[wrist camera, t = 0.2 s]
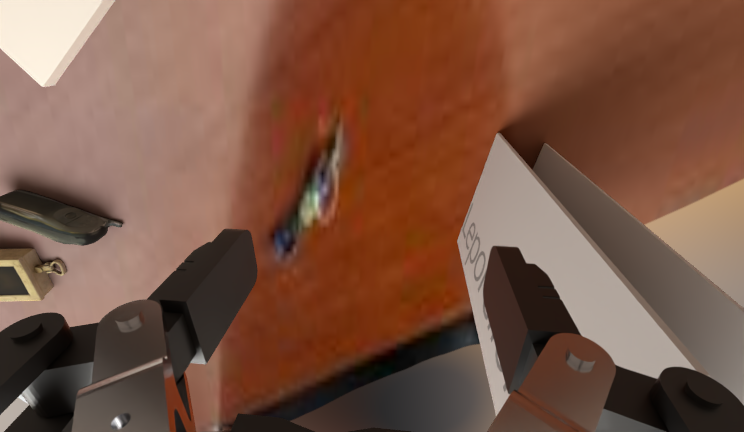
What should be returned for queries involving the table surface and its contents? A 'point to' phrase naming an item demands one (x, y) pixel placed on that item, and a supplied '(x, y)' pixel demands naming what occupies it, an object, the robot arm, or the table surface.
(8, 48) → the cream panel
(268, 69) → the table surface
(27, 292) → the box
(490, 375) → the brochure
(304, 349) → the table surface
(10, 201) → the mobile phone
